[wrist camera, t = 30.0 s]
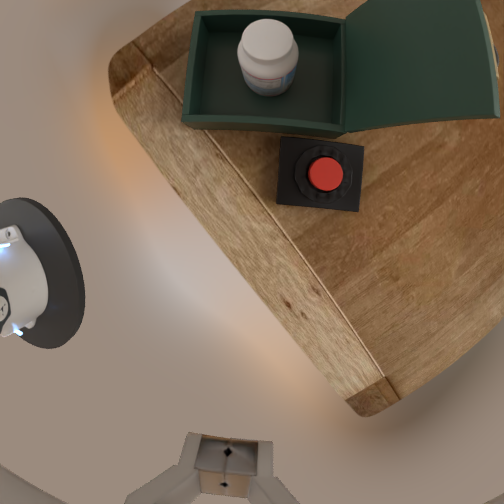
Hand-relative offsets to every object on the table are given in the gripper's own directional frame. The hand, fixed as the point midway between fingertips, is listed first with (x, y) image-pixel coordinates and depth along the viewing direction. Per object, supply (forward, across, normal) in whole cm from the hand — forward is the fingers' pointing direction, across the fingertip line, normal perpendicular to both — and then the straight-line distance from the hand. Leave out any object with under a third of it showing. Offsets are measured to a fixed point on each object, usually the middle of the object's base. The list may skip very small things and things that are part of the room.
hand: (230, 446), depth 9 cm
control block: (+30, -7, -10) cm, 33 cm away
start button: (+27, -7, -10) cm, 29 cm away
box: (+30, 0, -22) cm, 37 cm away
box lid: (+15, -10, -22) cm, 29 cm away
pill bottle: (+30, 0, -22) cm, 37 cm away
